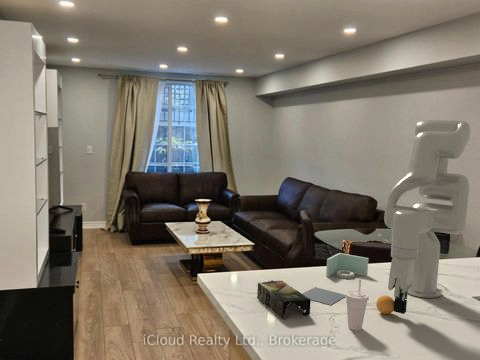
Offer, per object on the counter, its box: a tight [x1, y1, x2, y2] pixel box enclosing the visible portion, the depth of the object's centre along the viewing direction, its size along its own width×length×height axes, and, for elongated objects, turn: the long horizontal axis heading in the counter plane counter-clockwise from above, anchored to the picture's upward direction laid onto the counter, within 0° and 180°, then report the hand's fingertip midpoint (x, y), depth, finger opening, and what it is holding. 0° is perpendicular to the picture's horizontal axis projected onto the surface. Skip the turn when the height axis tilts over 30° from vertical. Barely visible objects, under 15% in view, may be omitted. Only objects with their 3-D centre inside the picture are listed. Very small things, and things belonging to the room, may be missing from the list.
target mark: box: [301, 286, 346, 306], centre depth 157 cm, size 12×12×1 cm
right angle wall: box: [325, 252, 369, 280], centre depth 180 cm, size 12×12×8 cm
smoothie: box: [344, 279, 370, 332], centre depth 131 cm, size 6×6×14 cm
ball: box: [376, 295, 395, 315], centre depth 143 cm, size 6×6×6 cm
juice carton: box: [256, 279, 312, 321], centre depth 146 cm, size 20×10×6 cm, turn 22°
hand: (399, 311), depth 141 cm, fingers closed
